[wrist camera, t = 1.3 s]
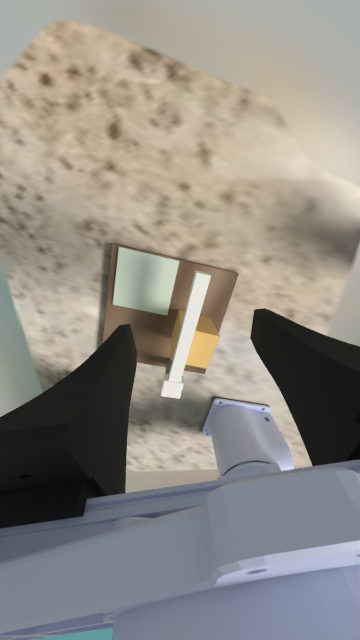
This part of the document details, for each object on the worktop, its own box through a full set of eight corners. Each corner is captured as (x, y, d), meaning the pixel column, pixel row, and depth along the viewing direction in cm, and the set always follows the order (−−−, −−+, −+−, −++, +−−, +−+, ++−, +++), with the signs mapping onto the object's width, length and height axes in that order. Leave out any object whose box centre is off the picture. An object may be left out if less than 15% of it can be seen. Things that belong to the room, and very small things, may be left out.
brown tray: (236, 272, 23) (255, 284, 18) (203, 369, 29) (210, 401, 23) (114, 243, 22) (94, 246, 16) (103, 352, 27) (85, 382, 21)
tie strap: (213, 274, 17) (216, 277, 16) (179, 390, 22) (179, 398, 21) (190, 269, 17) (192, 271, 16) (161, 387, 22) (160, 395, 21)
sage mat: (179, 260, 22) (179, 261, 21) (167, 314, 24) (167, 315, 24) (119, 246, 21) (118, 246, 21) (113, 303, 23) (112, 304, 23)
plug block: (210, 317, 24) (219, 336, 20) (200, 345, 26) (206, 368, 21) (179, 309, 24) (180, 327, 19) (170, 338, 25) (170, 361, 21)
